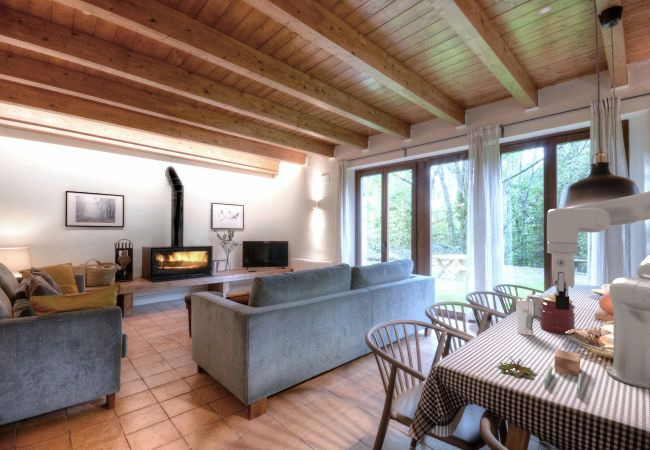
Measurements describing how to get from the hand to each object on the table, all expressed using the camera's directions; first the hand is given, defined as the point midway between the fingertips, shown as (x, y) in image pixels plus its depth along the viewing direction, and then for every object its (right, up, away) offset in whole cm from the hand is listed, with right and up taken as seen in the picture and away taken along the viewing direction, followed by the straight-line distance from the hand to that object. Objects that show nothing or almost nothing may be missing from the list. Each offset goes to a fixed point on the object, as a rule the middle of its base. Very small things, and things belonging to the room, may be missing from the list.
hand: (562, 308), depth 93 cm
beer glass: (+17, -23, +43) cm, 52 cm away
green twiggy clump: (-10, -23, +7) cm, 26 cm away
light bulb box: (+44, -24, +72) cm, 88 cm away
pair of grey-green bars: (-1, -22, -2) cm, 22 cm away
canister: (+35, -24, +48) cm, 64 cm away
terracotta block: (+8, -23, +8) cm, 25 cm away
